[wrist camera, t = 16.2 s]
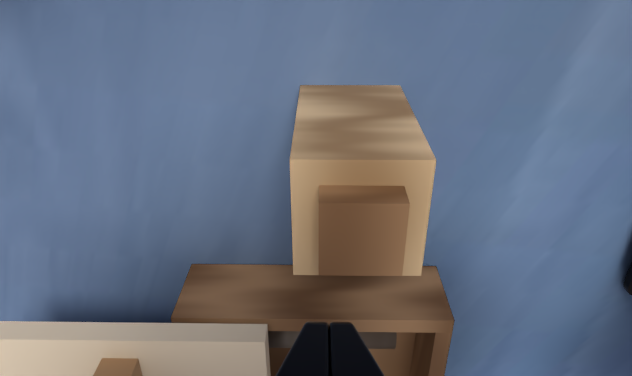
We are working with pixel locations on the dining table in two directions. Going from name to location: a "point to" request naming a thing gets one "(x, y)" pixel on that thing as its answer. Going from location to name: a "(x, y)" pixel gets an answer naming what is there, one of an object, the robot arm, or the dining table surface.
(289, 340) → the wooden box
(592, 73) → the dining table surface
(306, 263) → the wooden block
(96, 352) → the lid
